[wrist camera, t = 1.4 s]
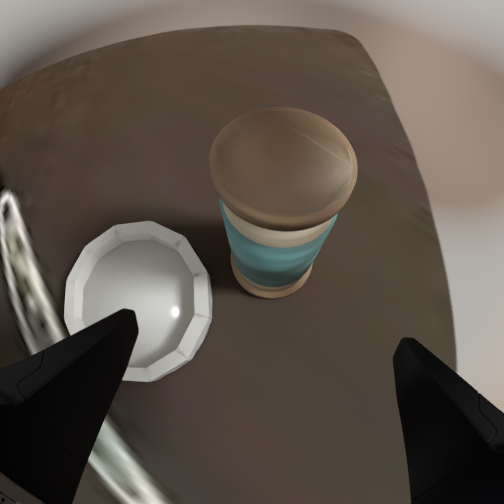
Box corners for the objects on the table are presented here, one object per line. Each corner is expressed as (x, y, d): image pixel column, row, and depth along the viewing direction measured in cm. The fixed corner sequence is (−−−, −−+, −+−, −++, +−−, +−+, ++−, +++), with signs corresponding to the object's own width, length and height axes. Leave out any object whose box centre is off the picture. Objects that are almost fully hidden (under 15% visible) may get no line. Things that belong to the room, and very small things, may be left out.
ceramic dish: (118, 403, 19) (105, 407, 17) (62, 280, 23) (49, 274, 21) (244, 327, 21) (242, 324, 19) (166, 208, 25) (160, 195, 23)
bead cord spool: (261, 315, 22) (266, 262, 10) (216, 250, 24) (177, 143, 11) (326, 269, 23) (391, 177, 11) (280, 210, 25) (295, 89, 13)
